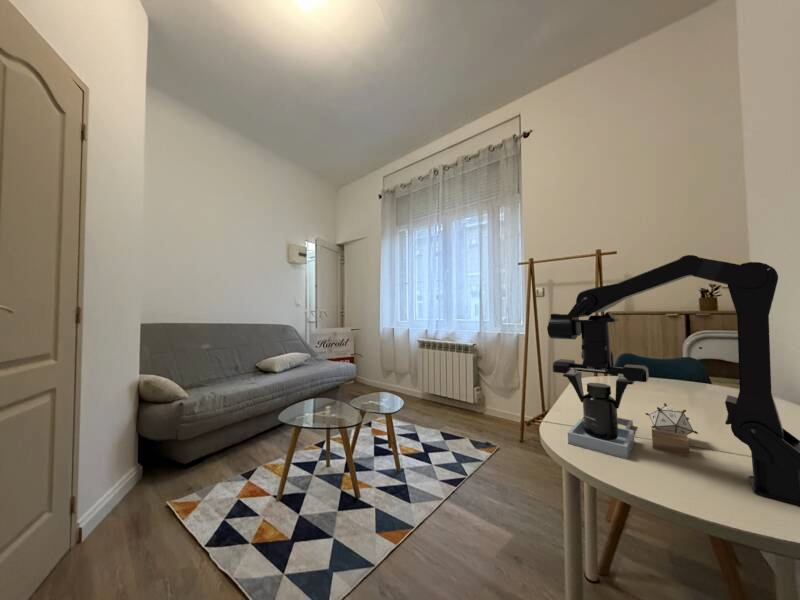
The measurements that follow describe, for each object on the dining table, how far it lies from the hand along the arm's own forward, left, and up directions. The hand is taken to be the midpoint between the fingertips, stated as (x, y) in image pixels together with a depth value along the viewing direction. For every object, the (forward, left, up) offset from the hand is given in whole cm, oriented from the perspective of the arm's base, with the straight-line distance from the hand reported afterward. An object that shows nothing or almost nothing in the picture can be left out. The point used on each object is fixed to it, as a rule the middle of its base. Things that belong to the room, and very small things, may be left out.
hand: (599, 405), depth 70 cm
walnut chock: (+6, -12, -9) cm, 16 cm away
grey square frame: (+12, +1, -9) cm, 15 cm away
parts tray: (0, 0, -9) cm, 9 cm away
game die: (+13, -12, -9) cm, 20 cm away
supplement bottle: (0, 0, -7) cm, 7 cm away
